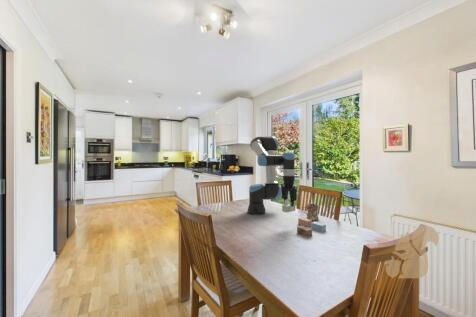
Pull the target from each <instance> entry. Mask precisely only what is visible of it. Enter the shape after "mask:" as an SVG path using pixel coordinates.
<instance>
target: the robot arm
mask: <svg viewBox="0 0 476 317" xmlns="http://www.w3.org/2000/svg"><path fill="white" fill-rule="evenodd" d="M278 141H279V140H278V138H277V137H276V136H256V137H254V138H253V139H252V140H251V141H250V144H249V145H250V146H249V147H250V150H252V151H253V152H254V153H255V155H256V156H257V159H256V160H257V165H258V166H259V167H265V178H266V181H265V183H264V184H263V183H255V184H252V185H250V186H249V189H248V190H249V191H248V192H249V194H248V195H249V197H248V198H249V204H248V207H247V214H249V213H251V214H250V215H254V214H260V215H264V214H266V213H265V212H266V207H265V204H264V200H265V201H266V200H279V199H280V197H281V199H283V205H287V204H290V211H292V212H294V211H293V206H294V205H295V202H296V201H297V199H298V197H297V196H298V195H297V194H298V187H299V186H298V185H295V179H296V178H295V177H296V176H295V174H296V173H295V164H296V163H295V162H296V161H295V159H296V157H295V156H296V155H295V152H292V151H291V152H289V151H288V152H287V151H286V152H285V151H283V153H282V154H276V153H277V151H278V150H279V142H278ZM276 166H277V167H279V166H281V167H282V174H283V176H282V181H283V183H280V184H279V181H277V180H278V179H277V168H276ZM289 198H290V199H289Z"/></svg>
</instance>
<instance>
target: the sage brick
mask: <svg viewBox="0 0 476 317" xmlns="http://www.w3.org/2000/svg"><path fill="white" fill-rule="evenodd" d="M281 207H282V209H281V211H282V212H284V213H286V214H287V213H291V212H295V211H296V204H294V206H293V211H290V203H288V204H287V205H285V204H282V205H281Z"/></svg>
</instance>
